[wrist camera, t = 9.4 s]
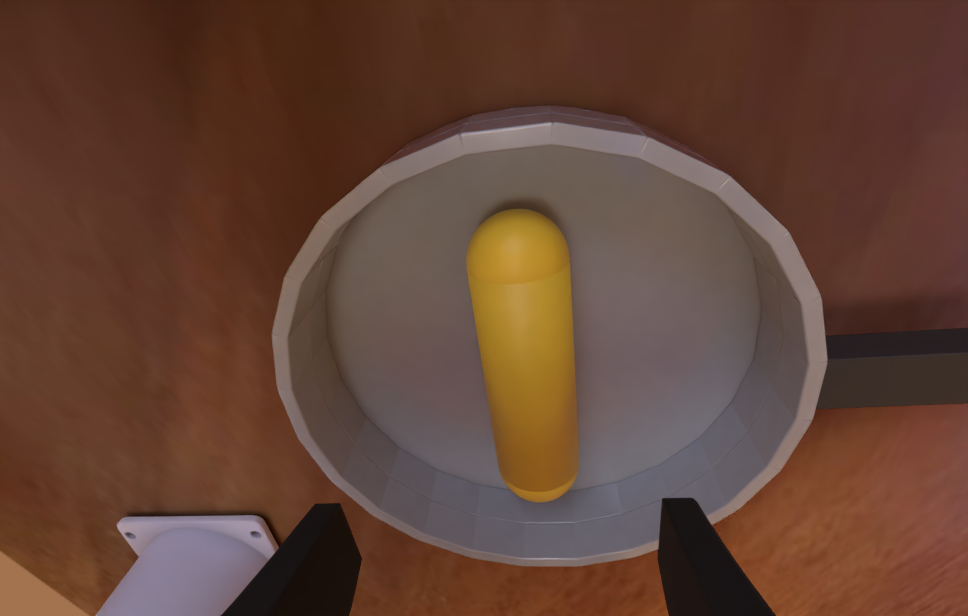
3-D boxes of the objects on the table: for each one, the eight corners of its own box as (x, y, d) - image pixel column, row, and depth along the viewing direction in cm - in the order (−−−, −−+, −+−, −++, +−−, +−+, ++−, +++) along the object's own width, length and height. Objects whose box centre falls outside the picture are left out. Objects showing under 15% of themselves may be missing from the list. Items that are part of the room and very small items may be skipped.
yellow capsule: (580, 458, 20) (580, 523, 17) (507, 455, 20) (497, 518, 18) (568, 191, 14) (565, 227, 12) (470, 199, 15) (447, 234, 12)
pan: (738, 488, 20) (775, 568, 17) (375, 494, 23) (351, 566, 20) (814, 68, 13) (902, 78, 10) (253, 140, 15) (182, 167, 12)
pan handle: (1053, 372, 14) (1094, 399, 13) (790, 384, 15) (809, 410, 14) (1081, 320, 13) (1127, 344, 12) (800, 336, 14) (822, 360, 13)
